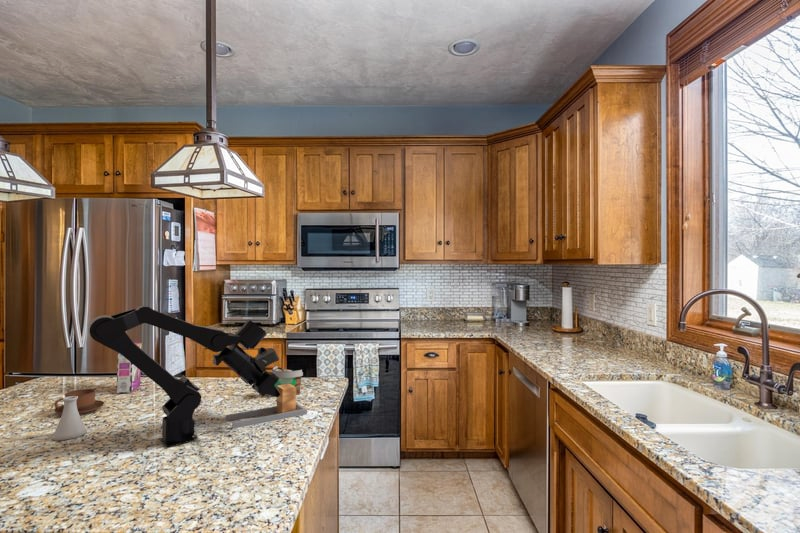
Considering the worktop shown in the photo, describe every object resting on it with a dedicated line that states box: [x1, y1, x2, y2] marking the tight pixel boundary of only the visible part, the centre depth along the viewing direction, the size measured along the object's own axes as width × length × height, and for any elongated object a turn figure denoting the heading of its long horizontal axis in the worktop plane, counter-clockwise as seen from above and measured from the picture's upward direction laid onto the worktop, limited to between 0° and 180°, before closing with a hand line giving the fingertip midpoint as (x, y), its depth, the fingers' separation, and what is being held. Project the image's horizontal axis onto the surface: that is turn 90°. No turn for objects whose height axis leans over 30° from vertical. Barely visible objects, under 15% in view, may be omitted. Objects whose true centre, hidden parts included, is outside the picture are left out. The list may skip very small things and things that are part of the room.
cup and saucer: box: [53, 388, 105, 416], centre depth 128 cm, size 12×12×6 cm
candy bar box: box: [115, 342, 143, 395], centre depth 152 cm, size 11×5×16 cm, turn 17°
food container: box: [271, 365, 304, 396], centre depth 144 cm, size 12×6×10 cm, turn 62°
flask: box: [51, 396, 87, 441], centre depth 109 cm, size 7×7×10 cm
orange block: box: [276, 384, 297, 414], centre depth 124 cm, size 4×5×8 cm
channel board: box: [225, 402, 308, 430], centre depth 121 cm, size 21×9×3 cm, turn 125°
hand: (278, 395), depth 123 cm, fingers closed
